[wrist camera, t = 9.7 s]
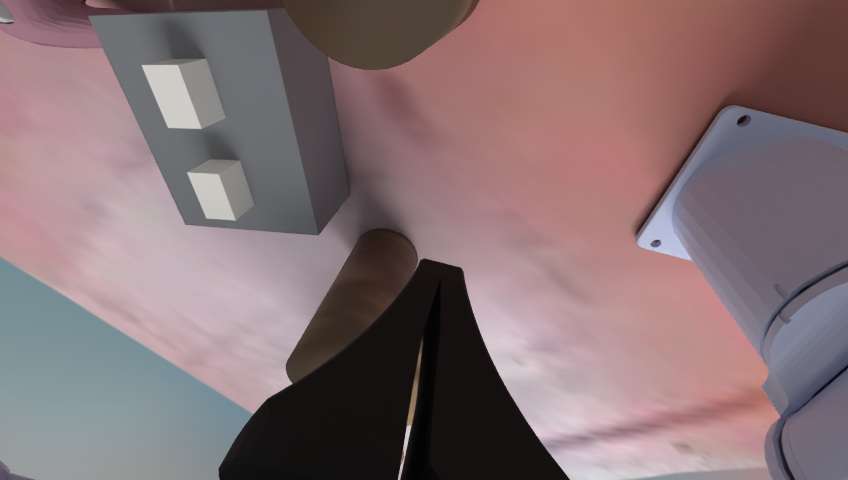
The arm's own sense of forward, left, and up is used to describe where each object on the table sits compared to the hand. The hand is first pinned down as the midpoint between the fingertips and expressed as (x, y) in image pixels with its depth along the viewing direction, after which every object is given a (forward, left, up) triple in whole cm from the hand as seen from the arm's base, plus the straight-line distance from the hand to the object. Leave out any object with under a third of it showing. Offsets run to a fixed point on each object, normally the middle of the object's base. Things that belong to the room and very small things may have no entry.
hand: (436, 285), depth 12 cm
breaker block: (+11, 0, -11) cm, 16 cm away
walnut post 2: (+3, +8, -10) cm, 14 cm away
